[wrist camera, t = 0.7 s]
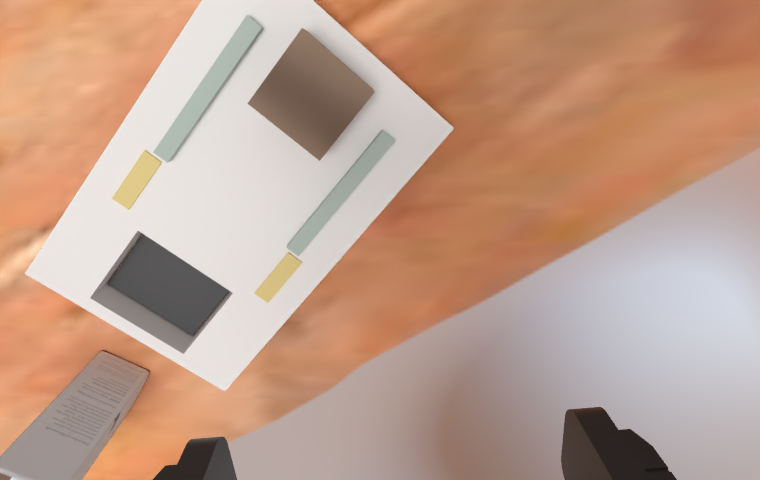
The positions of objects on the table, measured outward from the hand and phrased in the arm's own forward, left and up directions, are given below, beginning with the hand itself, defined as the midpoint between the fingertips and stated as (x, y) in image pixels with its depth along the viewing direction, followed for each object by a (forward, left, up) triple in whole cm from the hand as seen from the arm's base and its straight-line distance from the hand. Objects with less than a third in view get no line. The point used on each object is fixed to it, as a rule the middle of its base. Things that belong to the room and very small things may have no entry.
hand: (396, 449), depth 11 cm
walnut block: (-3, -7, -22) cm, 23 cm away
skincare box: (+26, -6, -24) cm, 36 cm away
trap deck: (+6, -7, -24) cm, 26 cm away
